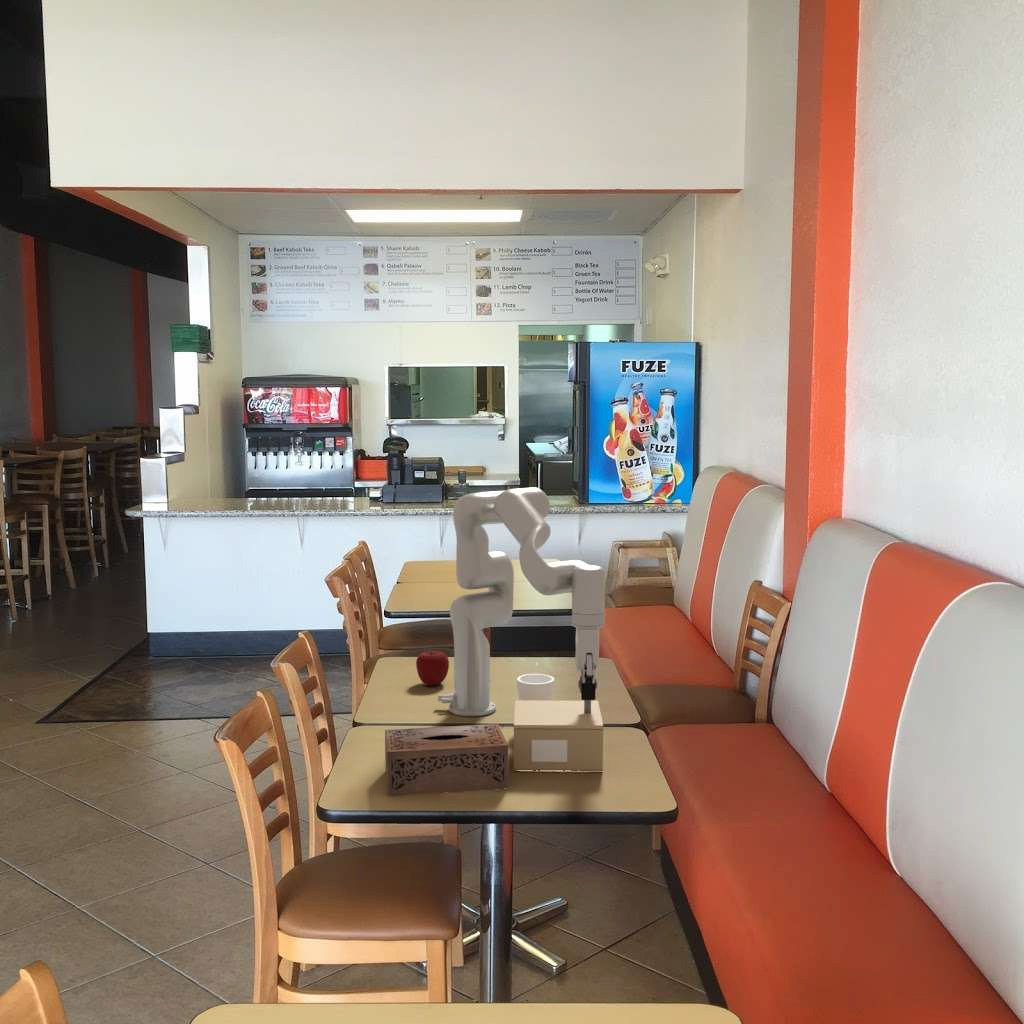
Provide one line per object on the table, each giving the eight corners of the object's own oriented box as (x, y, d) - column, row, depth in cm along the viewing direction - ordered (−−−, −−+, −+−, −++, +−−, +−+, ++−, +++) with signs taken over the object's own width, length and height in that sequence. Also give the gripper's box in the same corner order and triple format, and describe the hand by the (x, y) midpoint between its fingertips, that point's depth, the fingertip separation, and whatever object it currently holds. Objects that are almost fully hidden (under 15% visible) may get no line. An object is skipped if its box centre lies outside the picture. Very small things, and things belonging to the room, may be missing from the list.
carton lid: (513, 728, 228) (513, 686, 227) (515, 703, 246) (515, 664, 245) (603, 728, 228) (603, 686, 226) (597, 703, 246) (598, 664, 245)
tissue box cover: (498, 766, 234) (498, 723, 233) (508, 790, 220) (508, 745, 218) (385, 772, 230) (384, 729, 229) (388, 797, 216) (387, 752, 214)
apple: (420, 679, 304) (420, 646, 302) (452, 680, 302) (451, 647, 301) (413, 688, 294) (412, 654, 293) (445, 689, 293) (445, 655, 292)
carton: (513, 772, 229) (513, 729, 228) (515, 744, 247) (515, 704, 246) (602, 772, 229) (603, 729, 228) (597, 745, 247) (597, 705, 246)
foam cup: (535, 720, 266) (535, 671, 264) (561, 728, 259) (561, 678, 258) (509, 728, 259) (509, 678, 257) (535, 737, 252) (535, 686, 251)
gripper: (570, 611, 243) (570, 685, 245) (573, 627, 226) (572, 707, 228) (602, 611, 242) (601, 686, 244) (607, 627, 226) (606, 707, 228)
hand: (587, 695), depth 236 cm, fingers closed on carton lid, 4 cm apart
